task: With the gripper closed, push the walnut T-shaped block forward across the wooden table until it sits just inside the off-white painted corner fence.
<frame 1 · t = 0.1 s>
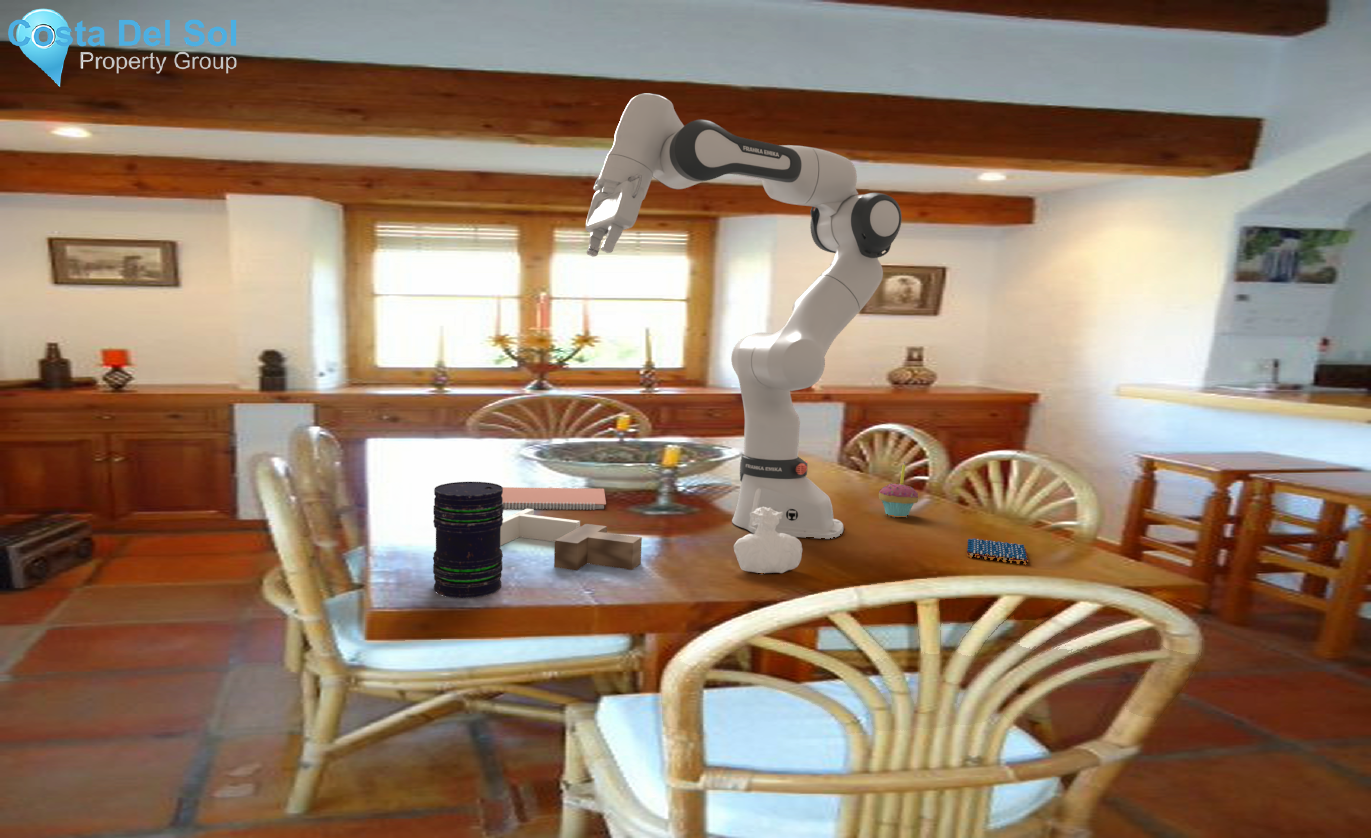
hand: (598, 253, 142), 52 cm above the table, tool tilted 20°, fingers open, 8 cm apart
t block: (603, 562, 132), on the table
woven mat: (996, 558, 147), on the table
corner fence: (493, 546, 138), on the table
cupcake: (897, 516, 175), on the table
notebook: (543, 504, 175), on the table
rusty oil barrel: (468, 588, 117), on the table
bust: (765, 569, 132), on the table
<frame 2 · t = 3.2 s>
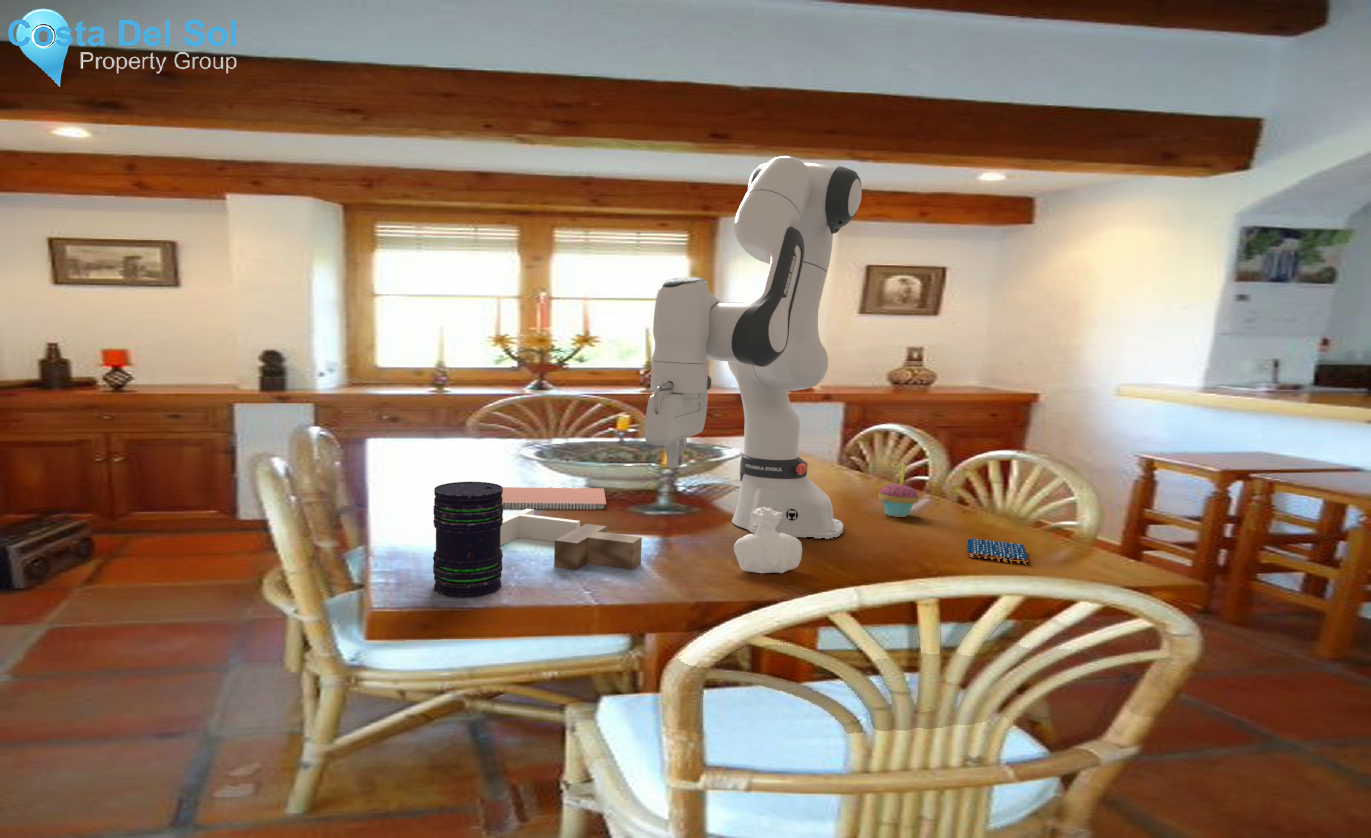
hand: (674, 466, 127), 17 cm above the table, tool pointing down, fingers closed
nothing on the table moved.
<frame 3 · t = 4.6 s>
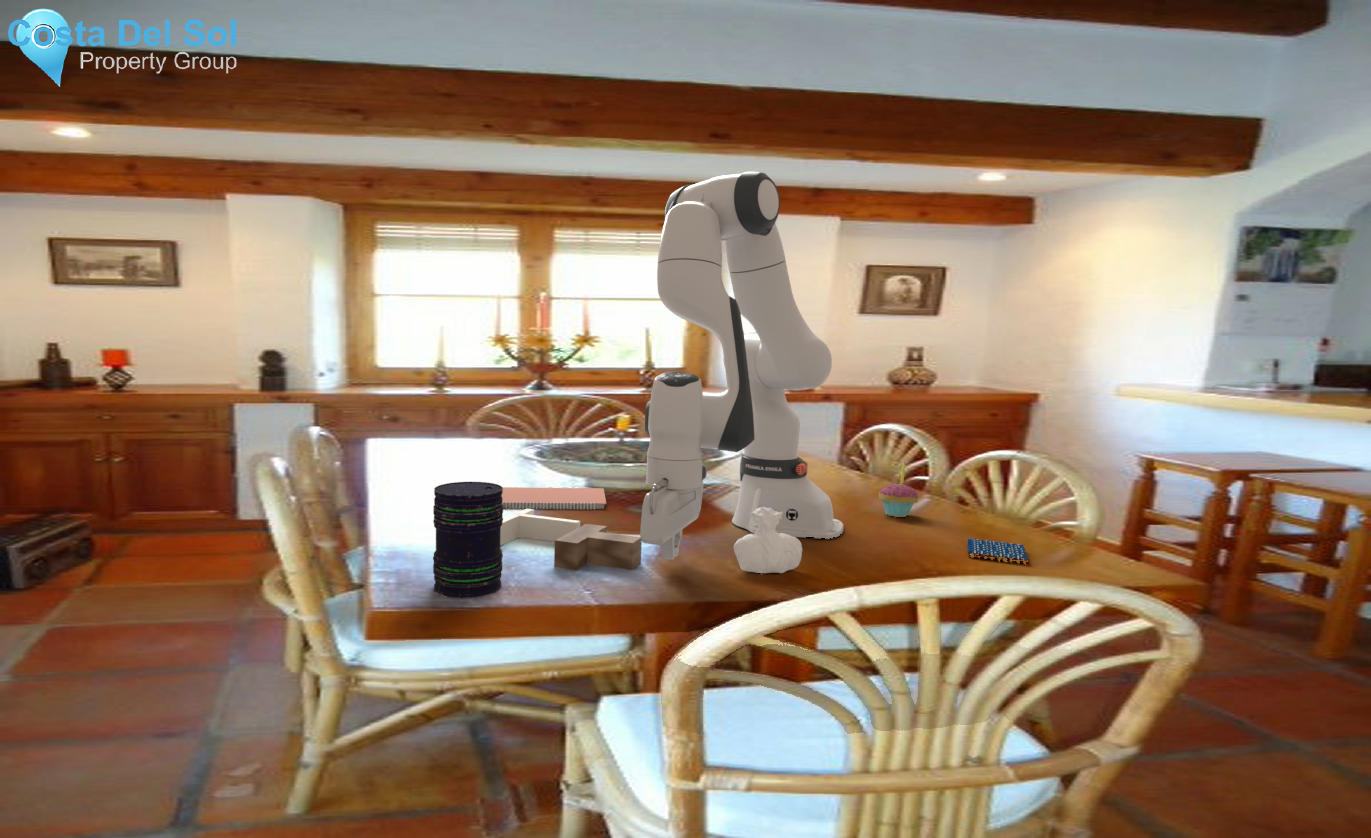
hand: (670, 557, 128), 2 cm above the table, tool pointing down, fingers closed
nothing on the table moved.
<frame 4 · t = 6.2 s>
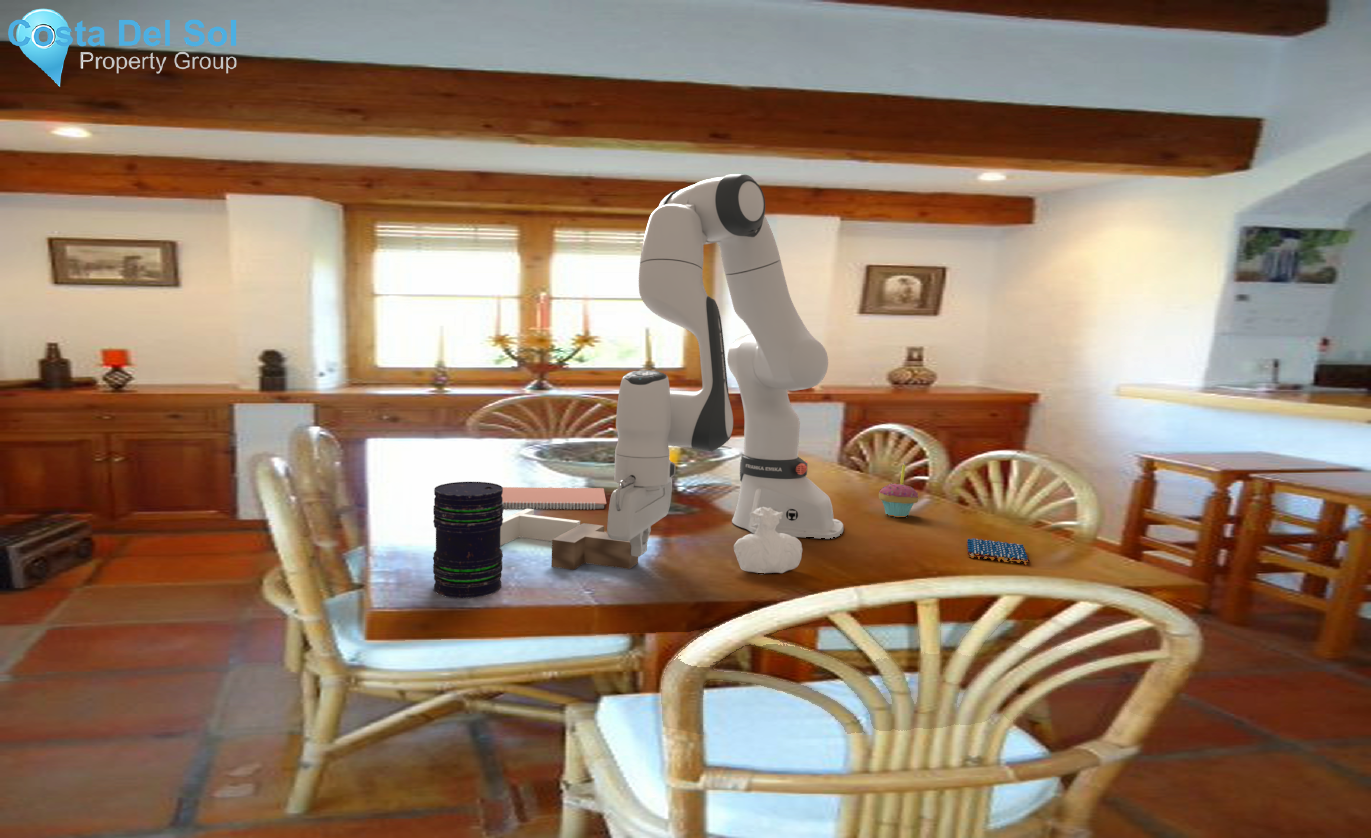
hand: (638, 554, 130), 2 cm above the table, tool pointing down, fingers closed, pressing on t block
t block: (600, 561, 132), on the table, touching gripper
everything else where it was.
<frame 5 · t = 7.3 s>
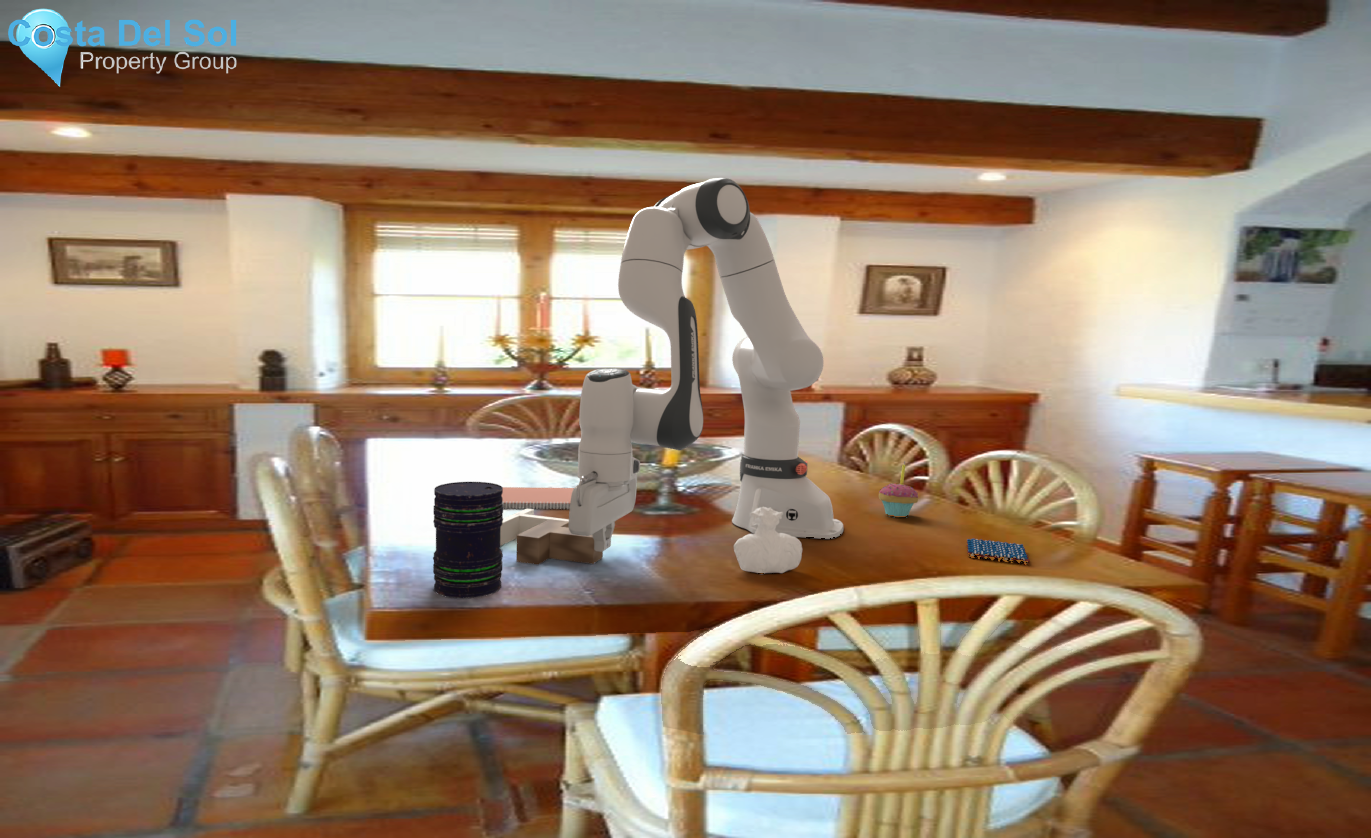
hand: (602, 549, 132), 2 cm above the table, tool pointing down, fingers closed, pressing on t block
t block: (565, 556, 134), on the table, touching gripper
everything else where it was.
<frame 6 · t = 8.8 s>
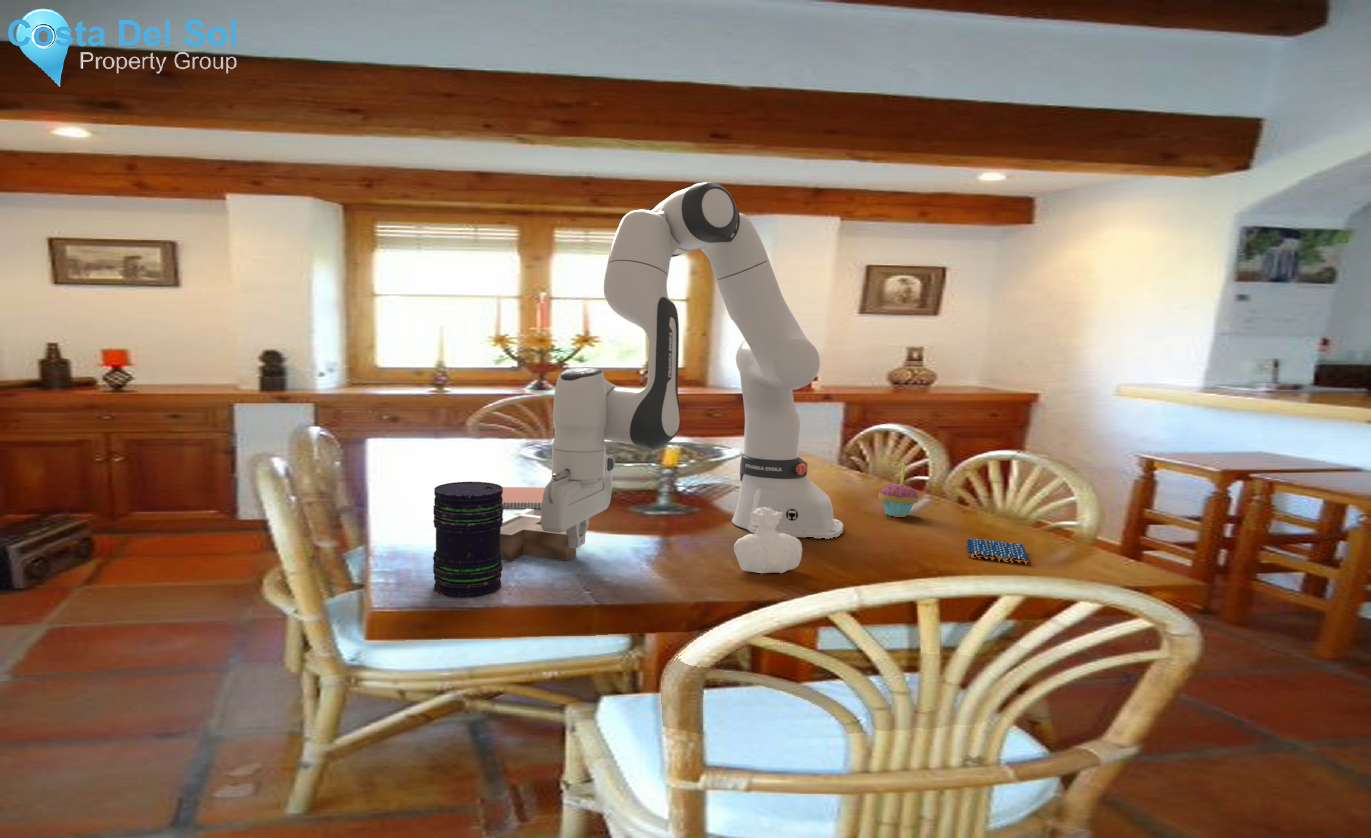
hand: (576, 546, 133), 2 cm above the table, tool pointing down, fingers closed
t block: (539, 553, 135), on the table, touching gripper
everything else where it was.
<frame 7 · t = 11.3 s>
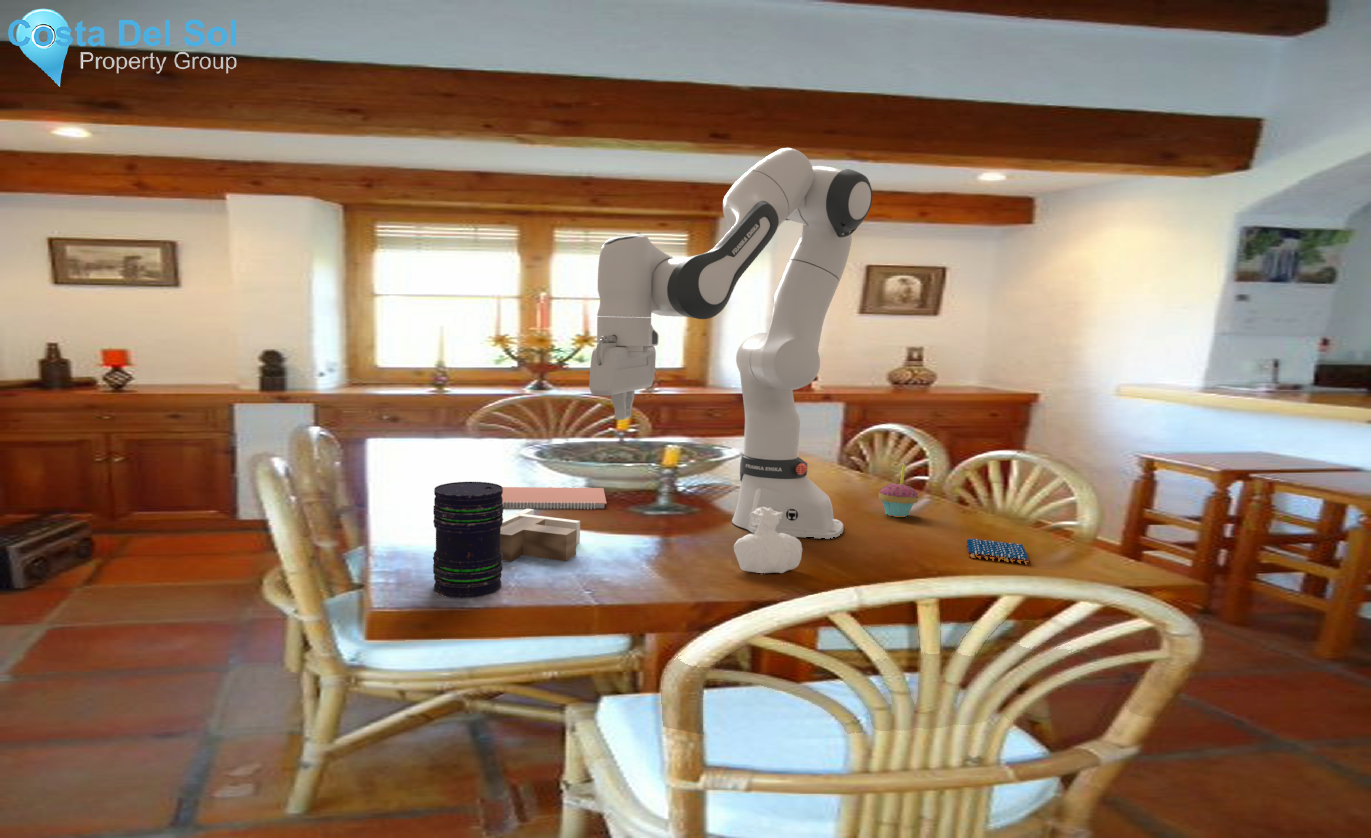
hand: (622, 418, 132), 24 cm above the table, tool pointing down, fingers closed
t block: (539, 553, 135), on the table
everything else where it was.
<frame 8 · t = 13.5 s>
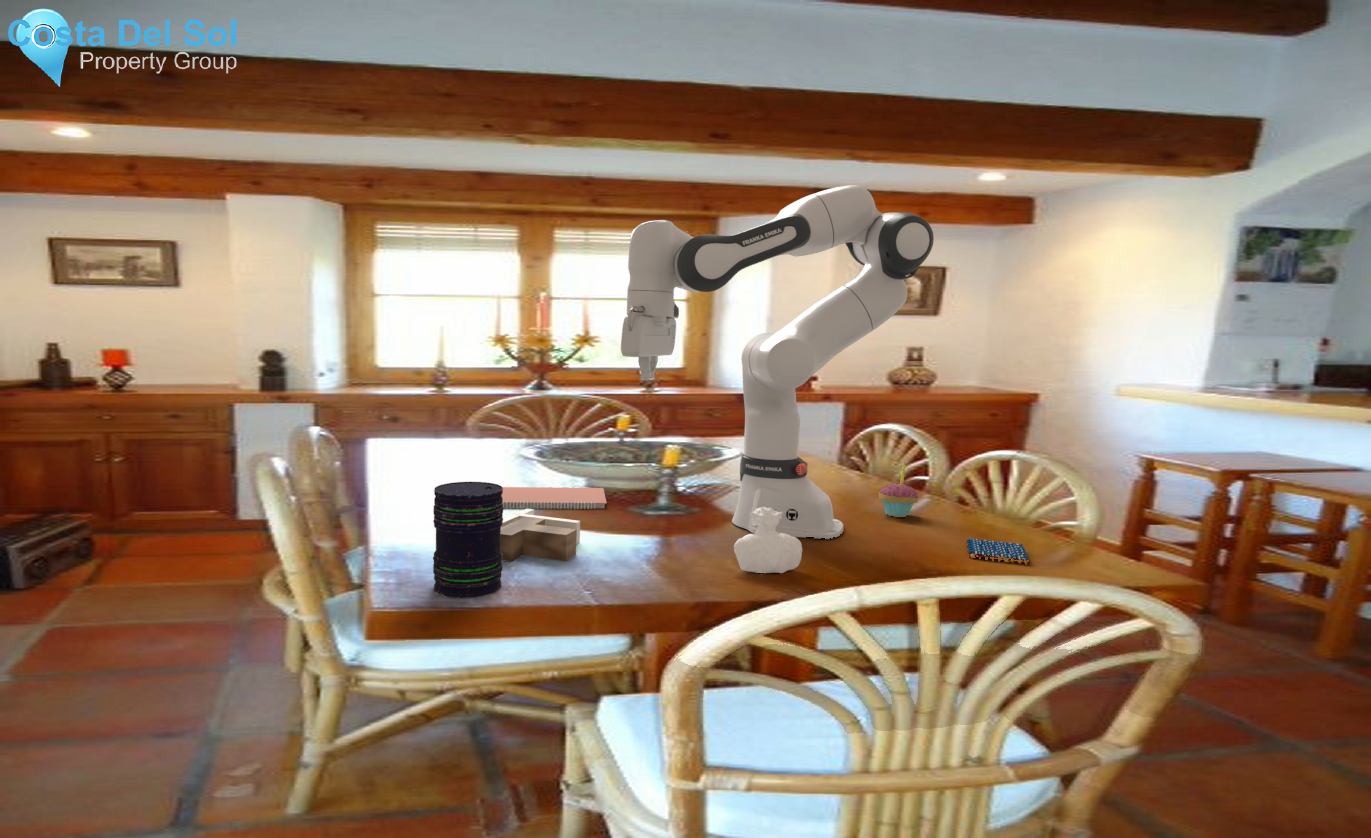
hand: (647, 379, 152), 29 cm above the table, tool pointing down, fingers closed
nothing on the table moved.
at the end: t block inside the target area (0.4 cm from its centre), on the table; t block moved 11.8 cm from its start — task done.
